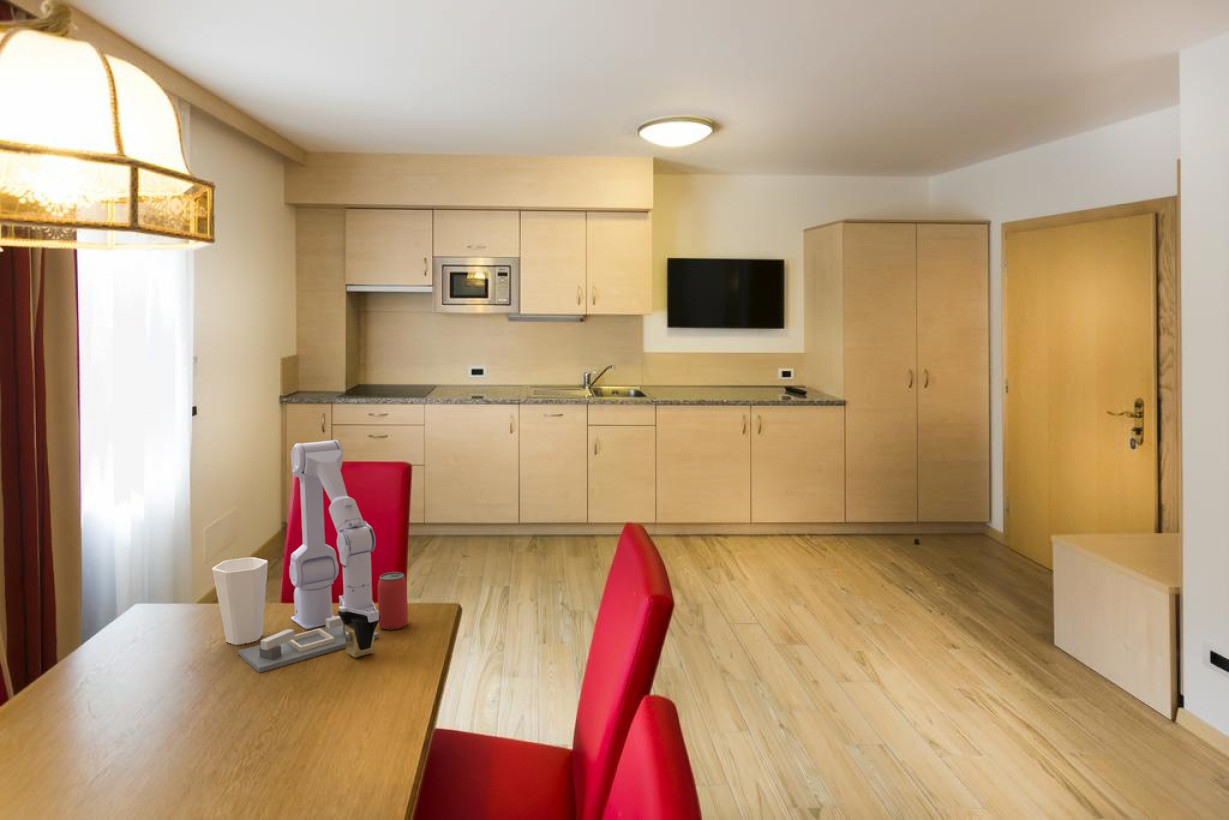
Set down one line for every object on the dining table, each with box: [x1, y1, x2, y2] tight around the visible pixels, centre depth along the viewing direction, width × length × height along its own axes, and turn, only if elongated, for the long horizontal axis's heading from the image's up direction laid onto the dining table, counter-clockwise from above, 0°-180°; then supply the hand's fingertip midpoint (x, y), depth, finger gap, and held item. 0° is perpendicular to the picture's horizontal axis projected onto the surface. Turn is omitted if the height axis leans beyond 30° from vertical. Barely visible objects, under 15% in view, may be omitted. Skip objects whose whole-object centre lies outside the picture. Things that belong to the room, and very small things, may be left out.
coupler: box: [345, 623, 376, 659], centre depth 170 cm, size 4×6×6 cm
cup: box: [211, 556, 269, 646], centre depth 178 cm, size 11×10×17 cm
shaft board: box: [238, 615, 380, 673], centre depth 175 cm, size 12×26×5 cm, turn 133°
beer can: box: [377, 571, 409, 631], centre depth 186 cm, size 7×7×12 cm
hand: (359, 645), depth 170 cm, fingers closed on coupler, 4 cm apart
